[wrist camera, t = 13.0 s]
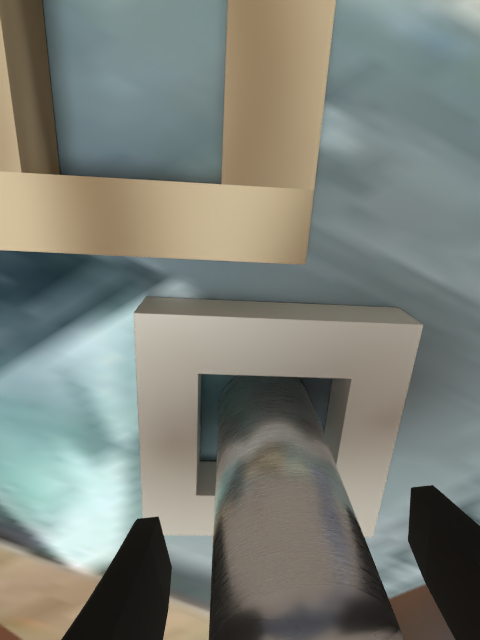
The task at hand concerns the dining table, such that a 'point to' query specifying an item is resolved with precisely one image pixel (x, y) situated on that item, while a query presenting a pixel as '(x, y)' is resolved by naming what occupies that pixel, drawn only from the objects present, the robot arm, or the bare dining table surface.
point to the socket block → (167, 196)
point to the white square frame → (267, 360)
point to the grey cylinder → (287, 526)
